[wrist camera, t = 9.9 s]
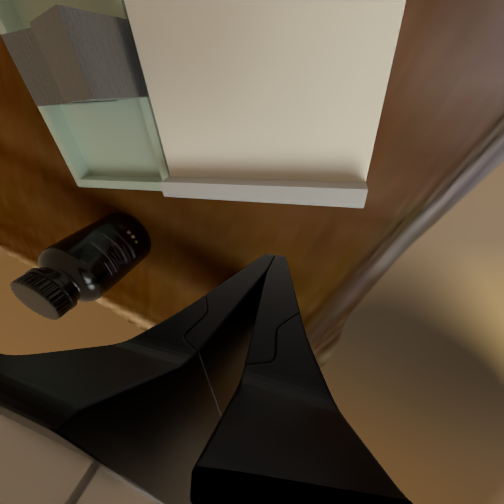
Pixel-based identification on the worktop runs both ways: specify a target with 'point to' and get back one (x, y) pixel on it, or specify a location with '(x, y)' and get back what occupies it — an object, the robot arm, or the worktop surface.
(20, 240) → the worktop surface
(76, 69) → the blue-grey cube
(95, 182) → the tray
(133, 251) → the supplement bottle
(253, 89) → the channel
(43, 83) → the gray cube
